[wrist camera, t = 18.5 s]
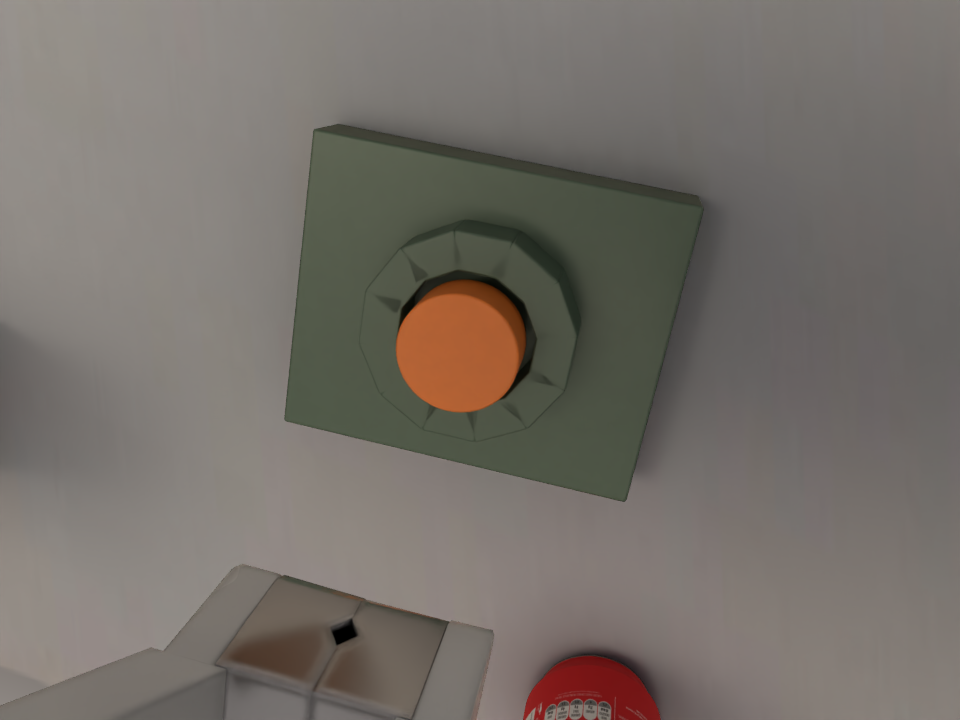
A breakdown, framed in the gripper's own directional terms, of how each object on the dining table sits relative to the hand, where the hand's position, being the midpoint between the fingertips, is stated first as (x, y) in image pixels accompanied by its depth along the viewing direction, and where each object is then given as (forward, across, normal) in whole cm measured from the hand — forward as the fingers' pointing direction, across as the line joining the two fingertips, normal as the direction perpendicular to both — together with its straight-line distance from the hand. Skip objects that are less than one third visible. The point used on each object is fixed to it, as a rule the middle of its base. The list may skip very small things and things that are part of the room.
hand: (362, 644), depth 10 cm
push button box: (+20, +2, +2) cm, 21 cm away
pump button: (+17, +2, +2) cm, 17 cm away
